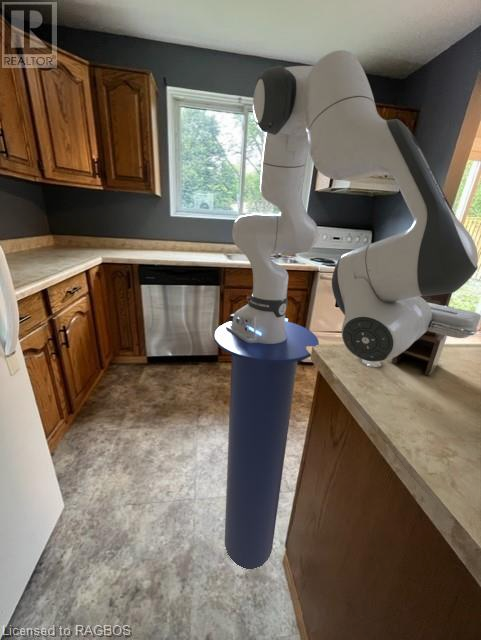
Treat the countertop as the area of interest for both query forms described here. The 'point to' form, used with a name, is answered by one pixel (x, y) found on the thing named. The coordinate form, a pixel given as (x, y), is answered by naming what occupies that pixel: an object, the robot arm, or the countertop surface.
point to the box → (439, 300)
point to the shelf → (425, 350)
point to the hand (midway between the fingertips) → (422, 304)
